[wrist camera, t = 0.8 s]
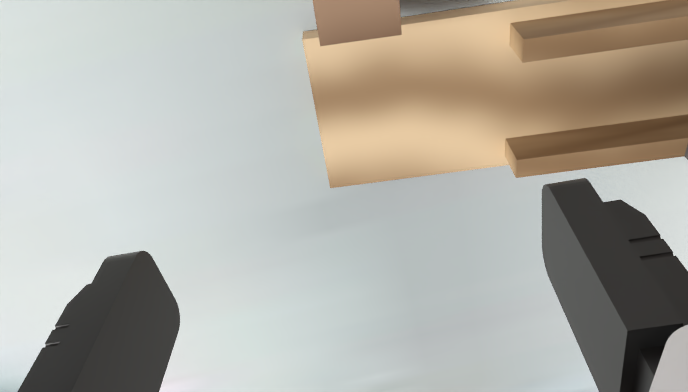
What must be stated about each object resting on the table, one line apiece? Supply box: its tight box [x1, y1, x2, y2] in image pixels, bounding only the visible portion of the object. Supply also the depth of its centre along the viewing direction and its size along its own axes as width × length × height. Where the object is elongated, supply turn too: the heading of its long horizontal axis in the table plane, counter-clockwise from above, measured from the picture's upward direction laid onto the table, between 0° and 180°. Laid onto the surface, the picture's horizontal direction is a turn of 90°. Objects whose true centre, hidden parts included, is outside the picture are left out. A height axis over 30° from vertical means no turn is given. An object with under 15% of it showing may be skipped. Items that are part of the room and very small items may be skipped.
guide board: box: [302, 0, 688, 188], centre depth 24 cm, size 8×22×4 cm, turn 98°
